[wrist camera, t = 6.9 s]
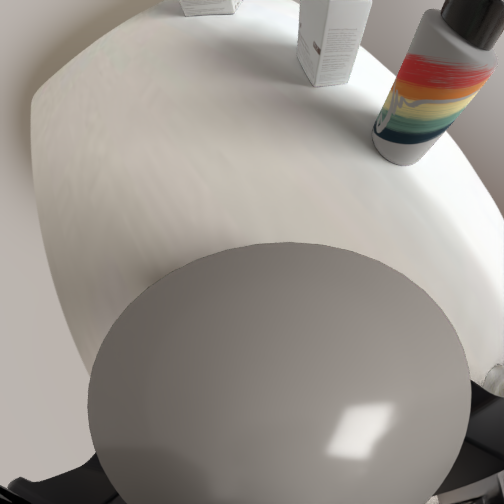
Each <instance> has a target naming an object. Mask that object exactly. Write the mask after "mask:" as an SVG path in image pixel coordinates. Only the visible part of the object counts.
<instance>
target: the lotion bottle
mask: <svg viewBox="0 0 504 504" xmlns="http://www.w3.org/2000/svg"><path fill="white" fill-rule="evenodd" d="M503 30H504V0H445V2H444V4H443V7H442V9H441V10H437V9H429V10H427V11H426V12H425V13H424V14H423V16H422V19H421V21H420V23H419V26H418V28H417V31H416V33H415V35H414V38H413V40H412V42H411V45H410V47H409V50H408V52H407V54H406V57H405V59H404V61H403V63H402V66H401V68H400V70H399V72H398V75H397V77H396V79H395V81H394V84H393V86H392V88H391V90H390V92H389V94H388V97H387V99H386V101H385V103H384V105H383V107H382V109H381V111H380V113H379V116H378V118H377V120H376V122H375V124H374V127H373V131H372V138H373V142H374V144H375V146H376V148H377V150H378V151H379V152H380V154H381V155H382V156H383V157H385V158H386V159H387V160H389V161H390V162H392V163H394V164H397V165H401V166H409V165H412V164H414V163H416V162H417V161H419V160H420V159H421V158H422V157H423V156H424V155H425V153H426V152H427V151H428V150H429V149H430V148H431V147H432V146H433V145H434V143H435V142H436V141H437V140H438V139H439V138H440V137H441V136H442V134H443V133H444V132H445V131H446V130H447V128H448V127H449V126H450V125H451V124H452V123H453V122H454V120H455V119H456V118H457V117H458V116H459V115H460V113H461V112H462V111H463V110H464V109H465V107H466V106H467V105H468V104H469V102H470V101H471V100H472V99H473V97H474V96H475V95H476V94H477V93H478V91H479V90H480V89H481V87H482V86H483V85H484V84H485V82H486V81H487V80H488V78H489V77H490V76H491V74H492V73H493V72H494V70H495V69H496V67H497V65H498V59H497V55H496V53H495V52H494V50H493V46H494V45H495V43H496V41H497V40H498V38H499V36H500V35H501V34H502V32H503Z"/></svg>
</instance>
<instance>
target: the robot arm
mask: <svg viewBox="0 0 504 504" xmlns="http://www.w3.org/2000/svg"><path fill="white" fill-rule="evenodd" d="M470 382H471V408H470V416H469V422H468V426H467V431H466V435H465V438H464V441H463V444H462V446H461V449H460V452H459V454H458V456H457V458H456V460H455V462H454V464H453V466H452V468H451V470H450V472H449V473H448V475H447V476H446V478H445V479H444V481H443V482H442V484H441V485H440V487H439V488H438V489H437V491H436V492H435V493H434V494H433V495H432V496H436V495H437V496H438V501H439V504H504V397H500V396H497V395H494V394H492V393H490V392H489V391H487V390H485V389H484V388H482V387H481V386H479V385H478V384H476V383H475V382H473V381H472V380H470ZM0 504H127V503H126V502H125V501H124V500H123V499H122V497H121V496H120V495H119V493H118V492H117V491H116V489H115V488H114V486H113V485H112V484H111V482H110V480H109V478H108V477H107V475H106V473H105V471H104V469H103V468H102V466H101V463H100V461H99V458H98V456H97V453H95V454H94V455H93V456H92V458H91V459H90V460H89V461H87V462H86V463H85V464H84V465H82V466H80V467H78V468H76V469H73V470H71V471H68V472H65V473H63V474H60V475H58V476H55V477H52V478H49V479H46V480H43V481H40V482H31V481H29V480H27V479H25V478H22V477H19V478H17V479H15V480H13V481H12V482H10V484H9V485H8V489H7V488H5V487H3V486H1V485H0Z"/></svg>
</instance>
